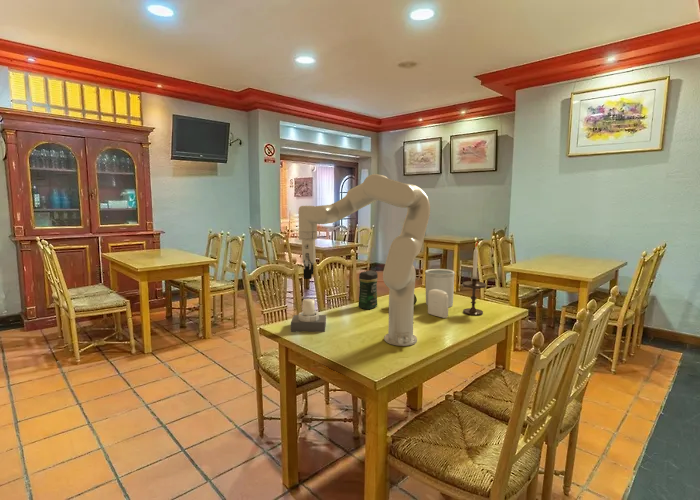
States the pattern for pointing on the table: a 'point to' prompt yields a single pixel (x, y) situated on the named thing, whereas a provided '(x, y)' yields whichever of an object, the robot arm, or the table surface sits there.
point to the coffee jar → (368, 289)
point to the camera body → (308, 323)
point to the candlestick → (474, 287)
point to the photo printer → (438, 303)
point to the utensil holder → (440, 282)
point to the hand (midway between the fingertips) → (308, 276)
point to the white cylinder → (308, 307)
